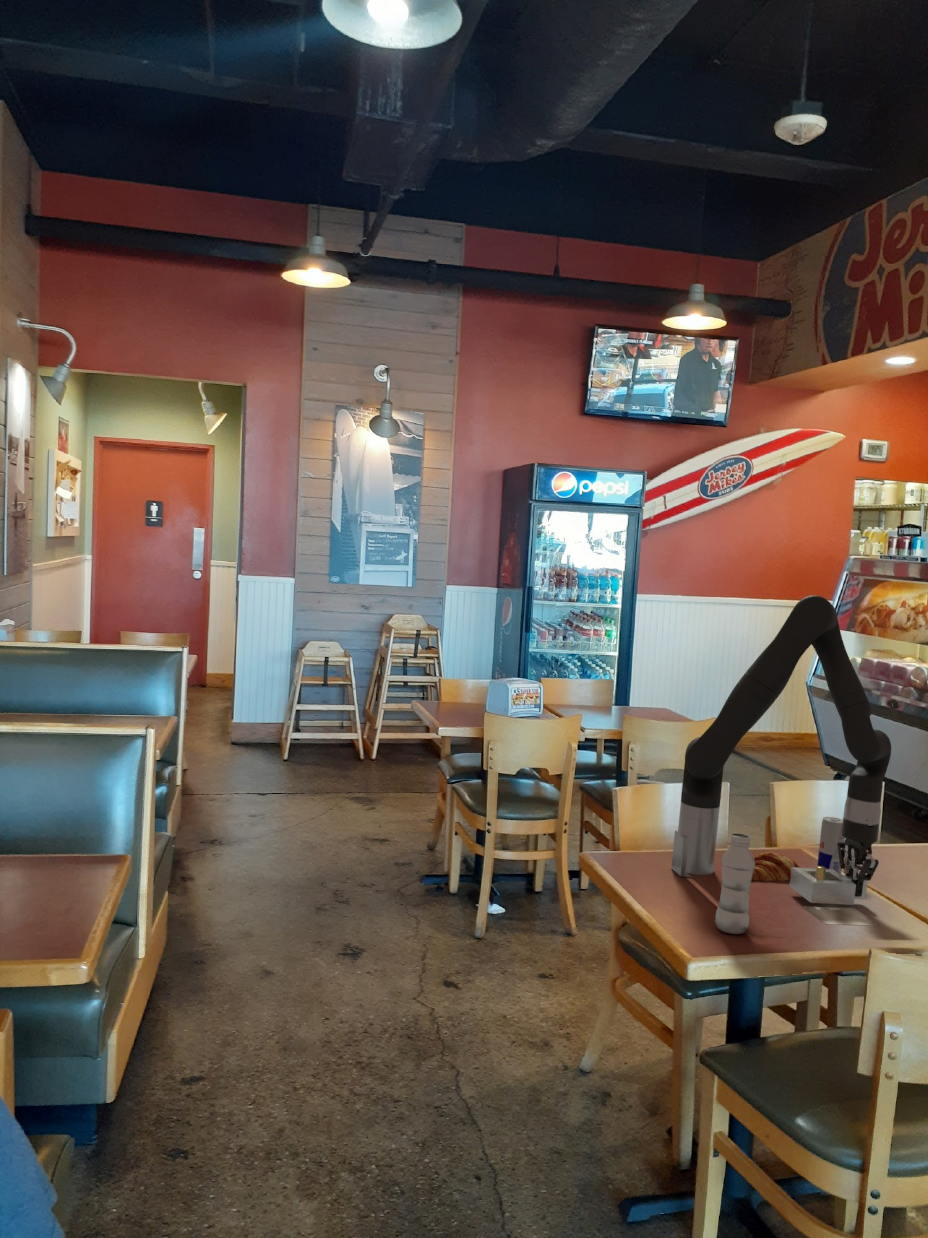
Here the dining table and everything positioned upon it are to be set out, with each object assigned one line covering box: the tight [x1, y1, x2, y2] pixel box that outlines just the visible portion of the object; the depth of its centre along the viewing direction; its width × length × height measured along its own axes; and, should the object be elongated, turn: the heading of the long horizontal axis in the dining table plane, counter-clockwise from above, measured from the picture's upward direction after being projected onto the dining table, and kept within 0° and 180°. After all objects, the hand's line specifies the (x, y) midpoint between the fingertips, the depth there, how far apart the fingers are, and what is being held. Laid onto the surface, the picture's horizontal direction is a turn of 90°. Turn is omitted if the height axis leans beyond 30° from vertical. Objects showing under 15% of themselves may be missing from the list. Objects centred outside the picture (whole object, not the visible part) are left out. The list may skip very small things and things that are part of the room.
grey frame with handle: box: [789, 867, 869, 906], centre depth 209 cm, size 15×10×4 cm, turn 97°
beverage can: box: [816, 816, 846, 875], centre depth 230 cm, size 6×6×15 cm
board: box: [802, 905, 880, 927], centre depth 205 cm, size 16×19×1 cm
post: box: [815, 865, 826, 905], centre depth 208 cm, size 2×2×8 cm
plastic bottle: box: [714, 832, 755, 935], centre depth 189 cm, size 6×7×20 cm
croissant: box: [751, 851, 801, 882], centre depth 227 cm, size 21×10×8 cm, turn 129°
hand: (852, 893), depth 210 cm, fingers closed on grey frame with handle, 2 cm apart
